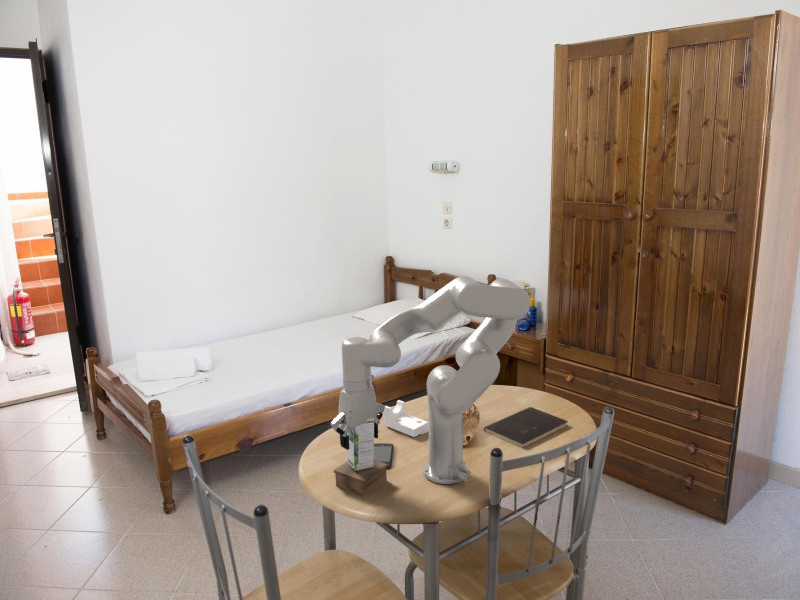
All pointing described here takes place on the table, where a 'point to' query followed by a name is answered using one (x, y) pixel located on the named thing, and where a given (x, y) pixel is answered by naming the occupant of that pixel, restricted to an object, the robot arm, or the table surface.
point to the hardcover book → (525, 426)
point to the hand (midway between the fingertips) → (359, 442)
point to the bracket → (404, 420)
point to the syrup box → (361, 446)
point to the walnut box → (360, 478)
